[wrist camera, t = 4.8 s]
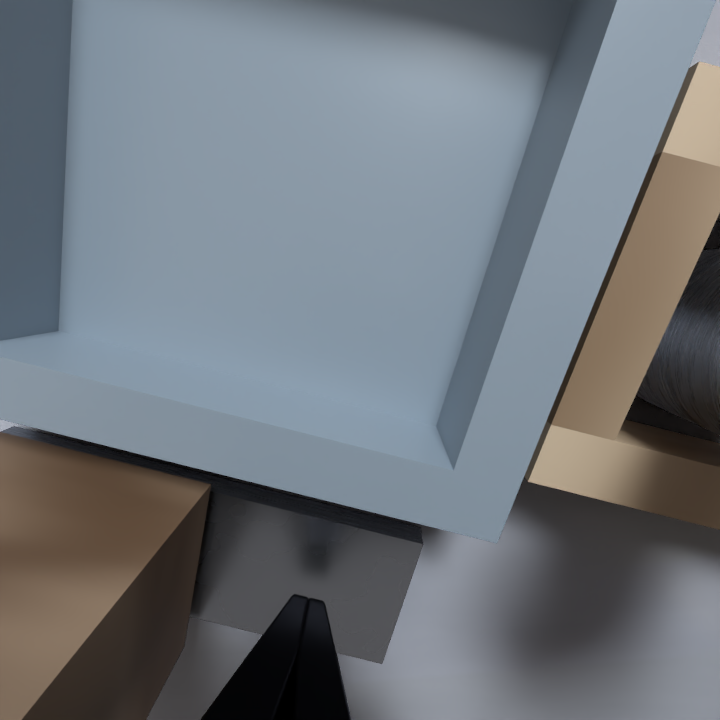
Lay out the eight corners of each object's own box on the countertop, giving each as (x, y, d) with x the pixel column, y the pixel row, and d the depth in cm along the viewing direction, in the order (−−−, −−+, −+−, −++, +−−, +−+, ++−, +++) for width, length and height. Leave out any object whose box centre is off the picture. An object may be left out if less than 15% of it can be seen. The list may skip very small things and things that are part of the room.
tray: (659, -76, 6) (835, -299, 4) (464, 470, 9) (496, 543, 6) (45, -238, 6) (-171, -571, 4) (30, 362, 9) (-101, 394, 6)
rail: (420, 527, 9) (423, 544, 9) (381, 641, 10) (382, 664, 10) (14, 426, 9) (-11, 435, 9) (12, 550, 10) (-10, 567, 10)
